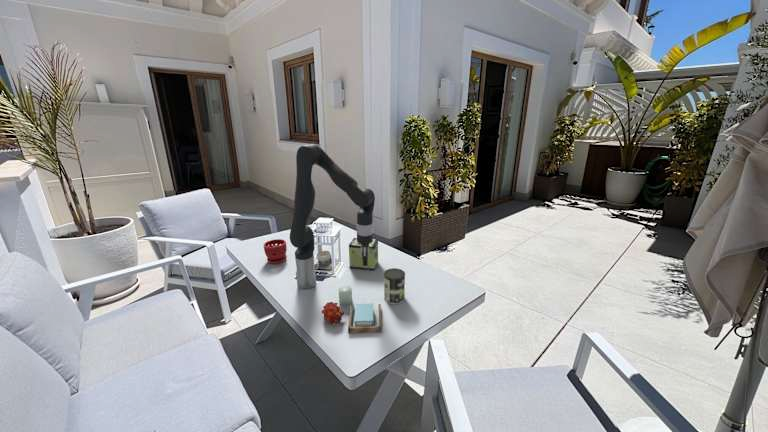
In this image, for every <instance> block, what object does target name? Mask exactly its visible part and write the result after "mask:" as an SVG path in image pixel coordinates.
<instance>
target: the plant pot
mask: <svg viewBox="0 0 768 432" xmlns="http://www.w3.org/2000/svg"><path fill="white" fill-rule="evenodd" d="M287 249H288V248H287V241H286V239H282V238H278V239H277V238H275V239H270V240H269V241H266V242H264V243H263V250H264V254H265V256H266V259H267V260H266V261H267V262H268V263H269V264H280V263H282V262H284V261H286V260H287V258H288V255H286V254H287Z"/></svg>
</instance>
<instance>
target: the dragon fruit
mask: <svg viewBox="0 0 768 432" xmlns="http://www.w3.org/2000/svg"><path fill="white" fill-rule="evenodd" d="M338 304H339V302H333V301H330V302H326V304H325V305H323V307H322V308H323V309H322V310H321V314H323V319H324V321H325V322H326V321H327V322H329V323H331V325H332V324H333V325H337V322H338V323H339V322H341V321H342V319H343V316H344V314H345V311H343V310H342V308H341V306H338Z"/></svg>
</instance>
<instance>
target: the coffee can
mask: <svg viewBox="0 0 768 432" xmlns="http://www.w3.org/2000/svg"><path fill="white" fill-rule="evenodd" d="M405 276H406V272H405V271H404V270H402V269H400V268H388V269H386V270H385V271H384V272H383V282H384V283H383V292H384V293H383V294H384V295H383V299H384V301H385V303H388V304H390V305H399V304H402V303H403V302H404V301H405V289H406V288H405V286H406V285H405V284H406V282H405V281H406V280H405V279H406V277H405Z"/></svg>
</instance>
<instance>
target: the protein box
mask: <svg viewBox="0 0 768 432" xmlns="http://www.w3.org/2000/svg"><path fill="white" fill-rule="evenodd" d="M348 258H349V269H355V270H366V271H375V270H376V268H377V266H378V264H379V240H378V239H375V238H373V242H372V243H370V244H369V255H368V260H367V261H368V264H367V266H363V260H362V255H361V244H360V243H358V242H357V237H354V238H353V239H352V240H351V242H349V244H348Z"/></svg>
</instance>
